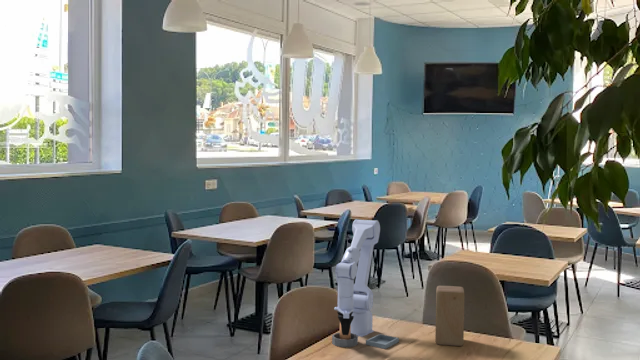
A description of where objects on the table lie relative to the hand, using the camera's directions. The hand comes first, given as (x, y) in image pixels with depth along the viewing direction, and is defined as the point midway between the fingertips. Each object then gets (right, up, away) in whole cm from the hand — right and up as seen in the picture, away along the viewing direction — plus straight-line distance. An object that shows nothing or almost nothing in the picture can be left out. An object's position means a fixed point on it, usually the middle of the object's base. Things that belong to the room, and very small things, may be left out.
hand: (345, 332), depth 222 cm
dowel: (0, -3, 0) cm, 3 cm away
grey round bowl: (0, -4, 0) cm, 4 cm away
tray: (+14, -4, 0) cm, 14 cm away
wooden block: (+39, -5, +4) cm, 39 cm away
